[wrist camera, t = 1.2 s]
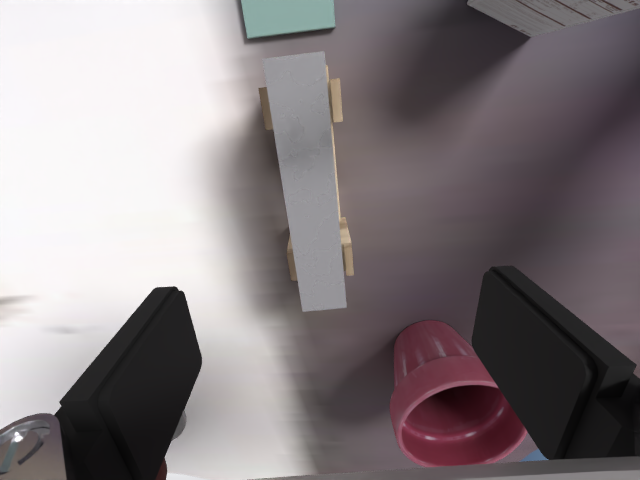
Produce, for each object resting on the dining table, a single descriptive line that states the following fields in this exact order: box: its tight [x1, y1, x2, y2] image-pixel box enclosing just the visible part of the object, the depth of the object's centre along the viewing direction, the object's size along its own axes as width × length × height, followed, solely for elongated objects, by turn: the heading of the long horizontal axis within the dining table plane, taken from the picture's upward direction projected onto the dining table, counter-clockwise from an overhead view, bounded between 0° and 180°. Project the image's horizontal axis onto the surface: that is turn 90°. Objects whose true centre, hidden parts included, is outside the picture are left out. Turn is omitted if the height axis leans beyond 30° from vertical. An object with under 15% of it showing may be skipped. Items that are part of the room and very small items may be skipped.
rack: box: [259, 66, 354, 281], centre depth 30 cm, size 6×20×8 cm, turn 6°
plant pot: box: [390, 320, 527, 467], centre depth 38 cm, size 14×14×13 cm
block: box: [262, 51, 347, 312], centre depth 26 cm, size 20×4×4 cm, turn 6°
